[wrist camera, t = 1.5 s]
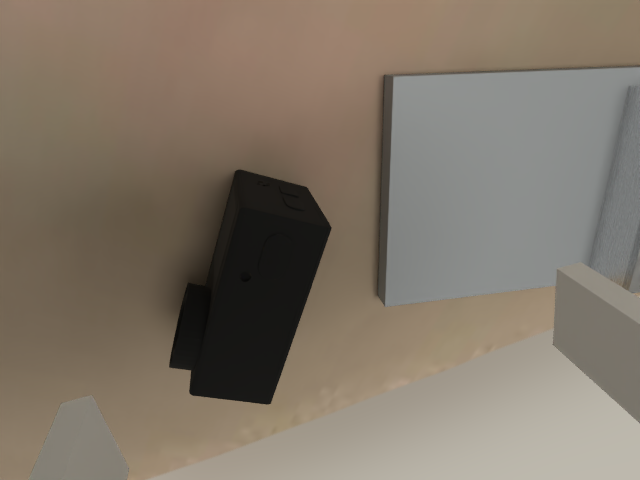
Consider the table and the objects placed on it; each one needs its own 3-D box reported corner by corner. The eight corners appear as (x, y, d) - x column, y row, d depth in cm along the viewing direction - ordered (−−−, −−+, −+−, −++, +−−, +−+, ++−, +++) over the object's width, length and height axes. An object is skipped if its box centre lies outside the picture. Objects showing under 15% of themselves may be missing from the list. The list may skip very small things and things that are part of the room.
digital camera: (215, 160, 26) (213, 197, 19) (307, 185, 27) (333, 227, 21) (176, 318, 29) (163, 394, 23) (260, 332, 31) (270, 406, 24)
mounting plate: (377, 295, 31) (384, 306, 30) (384, 75, 26) (393, 76, 24) (612, 267, 34) (628, 276, 33) (662, 64, 29) (684, 65, 27)
